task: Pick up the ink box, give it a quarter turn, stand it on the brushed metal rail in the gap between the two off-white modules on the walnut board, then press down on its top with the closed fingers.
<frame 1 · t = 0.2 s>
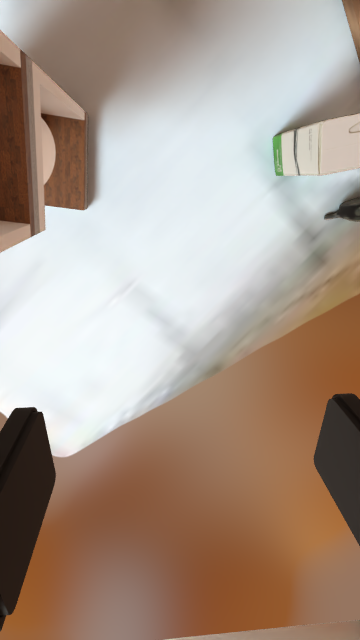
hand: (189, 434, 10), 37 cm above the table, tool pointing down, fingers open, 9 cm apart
ink box: (305, 150, 41), on the table
display case: (40, 157, 39), on the table
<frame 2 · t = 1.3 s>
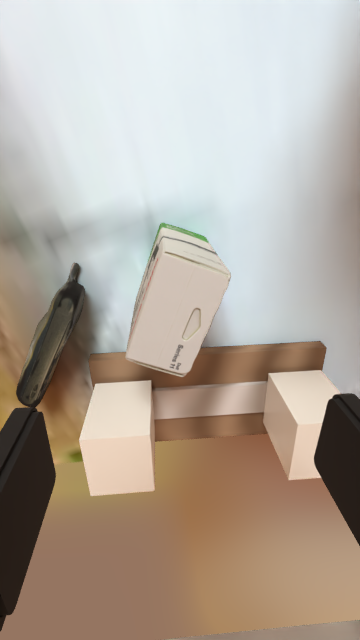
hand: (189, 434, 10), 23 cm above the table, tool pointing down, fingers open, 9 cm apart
mobile phone: (60, 326, 34), on the table
mounted modules: (207, 390, 38), resting on rail board
ink box: (169, 270, 32), on the table
rail board: (207, 390, 38), on the table
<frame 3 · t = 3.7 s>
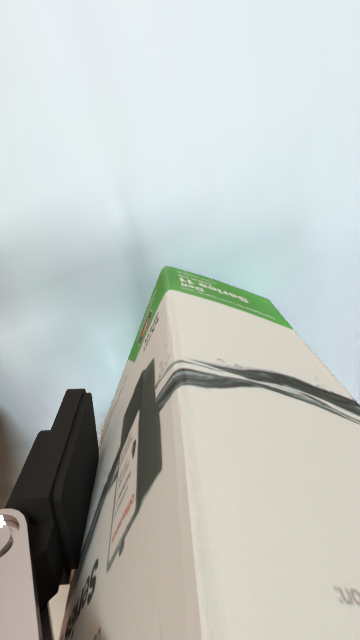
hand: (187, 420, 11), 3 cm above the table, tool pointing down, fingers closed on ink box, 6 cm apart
mounted modules: (239, 563, 20), resting on rail board
ink box: (179, 367, 14), on the table, touching gripper
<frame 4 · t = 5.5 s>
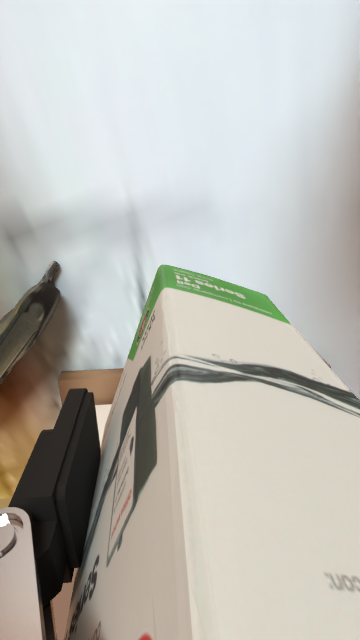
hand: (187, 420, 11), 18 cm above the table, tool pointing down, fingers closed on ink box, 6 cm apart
mobile phone: (20, 330, 28), on the table
mounted modules: (195, 413, 34), resting on rail board
ink box: (179, 364, 14), point 14 cm above the table, touching gripper
rail board: (195, 413, 34), on the table
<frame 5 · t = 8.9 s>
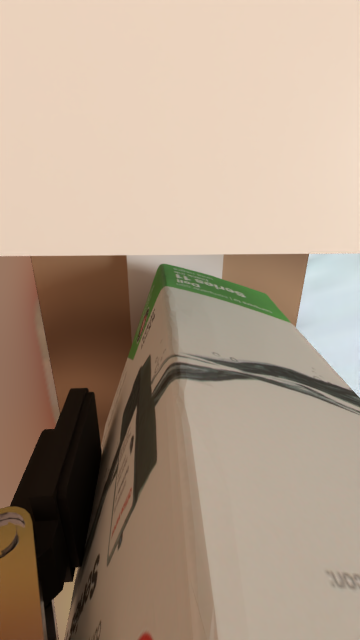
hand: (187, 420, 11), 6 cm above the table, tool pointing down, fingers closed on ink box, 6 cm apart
mounted modules: (172, 332, 17), resting on rail board
ink box: (179, 364, 14), point 3 cm above the table, touching gripper
rail board: (172, 332, 17), on the table
when the fingers open (6 cm above the table, at t = 9.0 s): ink box drops 1 cm, resting on rail board.
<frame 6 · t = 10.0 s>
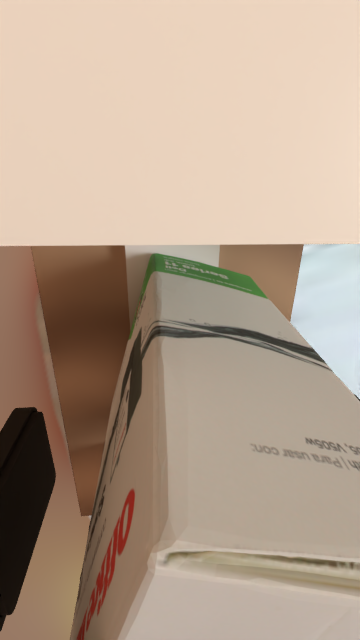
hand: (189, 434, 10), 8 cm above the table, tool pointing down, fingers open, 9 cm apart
mounted modules: (170, 326, 17), resting on rail board
ink box: (175, 345, 16), point 2 cm above the table, touching rail board
rail board: (170, 326, 17), on the table
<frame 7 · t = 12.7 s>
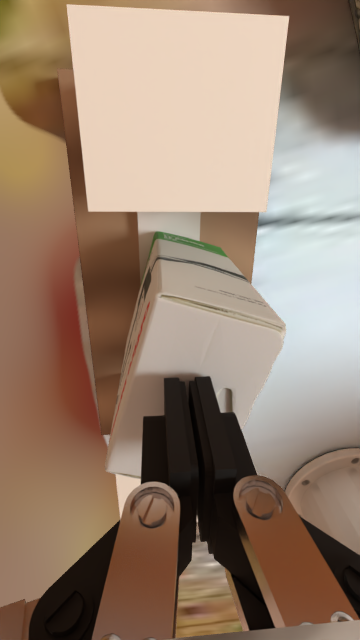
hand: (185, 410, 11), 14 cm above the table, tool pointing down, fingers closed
mounted modules: (168, 287, 24), resting on rail board
ink box: (171, 297, 23), point 2 cm above the table, touching gripper, rail board
rail board: (168, 287, 24), on the table
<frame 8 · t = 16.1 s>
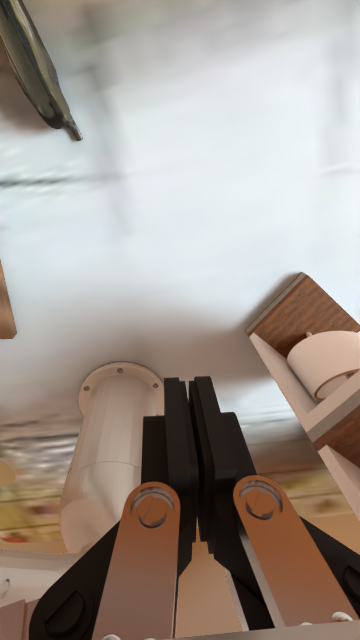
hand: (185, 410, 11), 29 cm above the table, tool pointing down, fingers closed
mobile phone: (35, 60, 30), on the table
display case: (299, 325, 44), on the table
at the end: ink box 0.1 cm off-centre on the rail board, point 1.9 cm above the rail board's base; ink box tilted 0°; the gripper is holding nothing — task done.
